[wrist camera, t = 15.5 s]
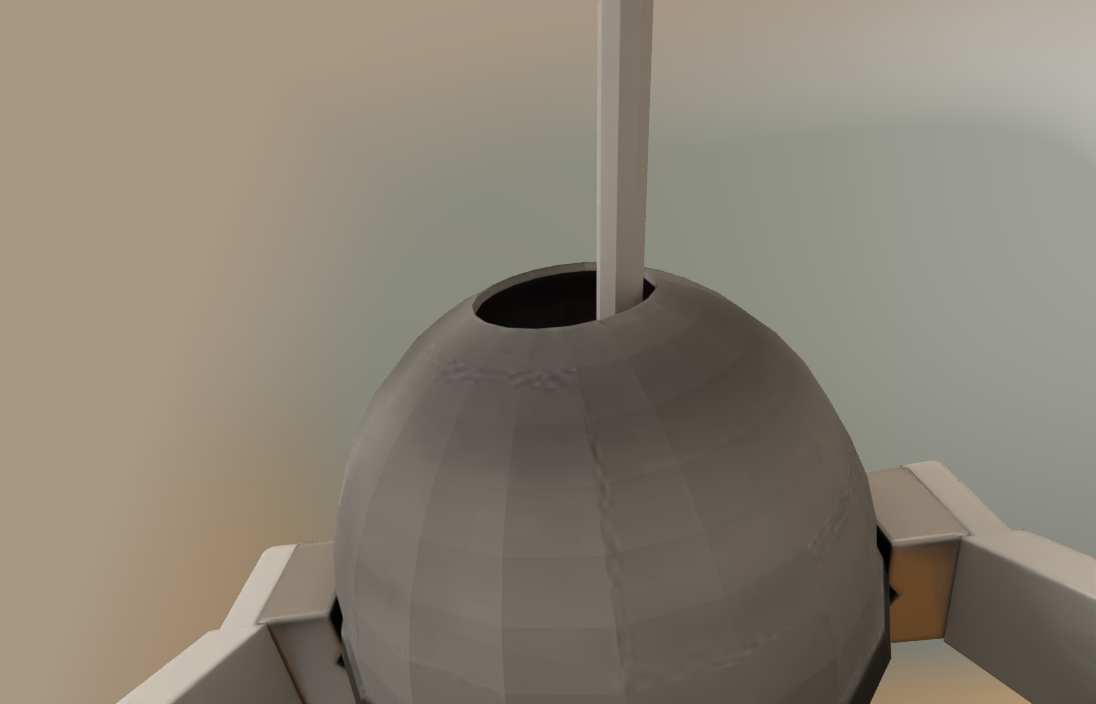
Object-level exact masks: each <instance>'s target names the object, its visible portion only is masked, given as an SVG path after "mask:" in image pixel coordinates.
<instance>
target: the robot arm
mask: <svg viewBox="0 0 1096 704" xmlns="http://www.w3.org/2000/svg"><path fill="white" fill-rule="evenodd" d="M865 473H866V475H867V477H868V482H869V486H870V491H871V496H872V500H873V505H874V509H875V514H876V529H877V547H878V549H879V551H880V553H881V555H882V557H883V560H884V564H885V568H886V572H887V576H888V580H889V601H890V638H891V643H896V642H907V641H919V640H928V639H929V640H930V639H941V638H944V642H945V643H947V644H948V645H950V646H951V647H953V648H954V649H955V650H957V651H958V652H960V653H961V654H963V655H964V656H965V657H967V658H968V659H970V660H971V661H972V662H974V663H975V664H977V665H978V666H980V667H981V668H982V669H984V670H986V671H987V672H988V673H989V674H991V675H992V676H994V677H995V678H997V679H998V680H1000V681H1001V682H1002V683H1004V684H1005V685H1007V686H1008V687H1009V688H1011V689H1012V690H1014V691H1015V692H1016V693H1018V694H1019V695H1021V696H1022V697H1024V698H1025V699H1027V700H1028V701H1029V702H1031V703H1032V704H1096V559H1095V558H1093V557H1090V556H1088V555H1085V554H1083V553H1081V552H1078V551H1076V550H1073V549H1071V548H1068V547H1066V546H1063V545H1061V544H1058V543H1056V542H1053V541H1051V540H1048V539H1046V538H1043V537H1041V536H1039V535H1036V534H1033V533H1031V532H1029V531H1026V530H1016V531H1012V530H1011V529H1010V528H1009V527H1008V526H1007V525H1006V524H1005V523H1004V522H1003V521H1002V520H1001V519H1000V518H999V517H998V516H997V515H996V514H994V513H993V512H992V511H991V510H990V509H989V508H988V507H987V506H986V505H985V504H984V503H983V502H982V501H981V500H980V499H979V498H978V497H977V496H976V495H974V494H973V492H971V491H970V490H969V489H968V488H967V487H966V486H965V485H964V484H963V483H962V482H961V481H960V480H959V479H958V478H957V477H956V476H955V475H954V474H952V473H951V472H950V471H949V470H948V469H947V468H946V467H945V466H944V465H943V464H942V463H939V462H937V461H927V462H921V463H914V464H908V465H901V466H899V467H893V468H886V469H879V470H871V471H865ZM333 548H334V540H325V541H316V542H306V543H302V544H292V545H283V546H275V547H271V548H269V549H268V550H266V551H265V552H264V553H263V555H262V556H261V557H260V559H259V561H258V563H257V565H256V566H255V568H254V570H253V572H252V574H251V575H250V577H249V579H248V580H247V582H246V584H245V586H244V587H243V589H242V591H241V593H240V594H239V596H238V598H237V600H236V601H235V604H234V605H233V607H232V609H231V610H230V612H229V614H228V616H227V617H226V619H225V621H224V623H223V624H222V626H221V628H220V630H214V631H209V632H208V633H206V634H205V635H204V636H203V637H201V638H200V639H199V640H198V641H196V642H195V643H194V644H192V645H191V646H190V647H189V648H187V649H186V650H185V651H183V652H182V653H181V654H180V655H178V656H177V657H176V658H174V659H173V660H172V661H170V662H169V663H168V664H167V665H165V666H164V667H163V668H162V669H160V670H159V671H158V672H156V673H155V674H154V675H152V676H151V677H150V678H149V679H147V680H146V681H145V682H143V683H142V684H141V685H140V686H138V687H137V688H136V689H134V690H133V691H132V692H131V693H129V694H128V695H127V696H126V697H124V698H123V699H122V700H120V701H119V702H118V703H117V704H356V702H355V699H354V695H353V692H352V688H351V685H350V681H349V678H348V674H347V671H346V667H345V664H344V660H343V657H342V642H341V629H342V622H343V615H342V612H341V608H340V604H339V601H338V597H337V594H336V584H335V571H334V558H333Z"/></svg>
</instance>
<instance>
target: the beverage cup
mask: <svg viewBox="0 0 1096 704" xmlns="http://www.w3.org/2000/svg"><path fill="white" fill-rule="evenodd" d="M652 23H653V0H598V116H597V117H598V121H597V122H598V123H597V128H598V129H597V131H598V132H597V262H582V263H572V264H564V265H556V266H551V267H546V268H541V269H536V270H532V271H529V272H525V273H522V274H519V275H516V276H513V277H510V278H508V279H505V280H503V281H501V282H499V283H496V284H494V285H492V286H490V287H488V288H486V289H484V290H482V291H481V292H479V293H477V294H475V295H473V296H471V297H469V298H467V299H466V300H464V301H463V302H461V303H460V304H458V305H457V306H456V307H454V308H453V309H451V310H450V311H448V312H447V313H446V314H444V315H443V316H442V317H441V318H439V319H438V320H437V321H436V322H435V323H434V324H433V325H431V326H430V327H429V328H428V329H427V330H426V331H424V332H423V333H422V334H421V335H420V336H419V337H418V338H417V339H416V340H415V341H414V343H413V344H412V345H411V347H410V348H409V349H408V350H407V352H406V353H405V354H404V356H403V357H402V358H401V360H400V361H399V362H398V363H397V365H396V366H395V368H394V369H393V370H392V371H391V373H390V374H389V375H388V377H387V378H386V379H385V381H384V382H383V383H382V385H381V386H380V387H379V388H378V390H377V391H376V393H375V395H374V397H373V399H372V400H371V402H370V404H369V406H368V408H367V410H366V412H365V414H364V416H363V418H362V420H361V422H360V424H359V426H358V428H357V431H356V434H355V438H354V441H353V444H352V448H351V451H350V455H349V458H348V461H347V465H346V470H345V475H344V480H343V485H342V490H341V495H340V500H339V505H338V512H337V522H336V531H335V539H334V548H333V558H334V571H335V584H336V594H337V597H338V601H339V604H340V608H341V612H342V615H343V622H342V629H341V642H342V657H343V660H344V664H345V667H346V671H347V674H348V678H349V681H350V685H351V688H352V692H353V695H354V699H355V702H356V704H870V702H871V700H872V698H873V696H874V693H875V691H876V689H877V687H878V685H879V683H880V680H881V679H882V676H883V674H884V672H885V670H886V668H887V666H888V664H889V661H890V659H891V638H890V601H889V580H888V576H887V572H886V568H885V564H884V560H883V557H882V555H881V553H880V551H879V549H878V547H877V529H876V514H875V509H874V505H873V500H872V496H871V491H870V486H869V482H868V477H867V475H866V473H865V470H864V468H863V466H862V463H861V461H860V459H859V456H858V454H857V452H856V449H855V447H854V445H853V442H852V440H851V438H850V436H849V434H848V432H847V430H846V429H845V427H844V425H843V423H842V422H841V420H840V418H839V416H838V415H837V413H836V411H835V409H834V408H833V406H832V404H831V402H830V401H829V399H828V397H827V395H826V394H825V392H824V391H823V389H822V388H821V386H820V385H819V383H818V382H817V380H816V379H815V377H814V376H813V374H812V373H811V371H810V370H809V368H808V366H807V365H806V363H805V362H804V361H803V360H802V359H801V358H800V357H799V356H798V355H797V354H796V353H795V352H794V351H793V350H792V349H791V348H790V347H789V346H788V345H787V344H786V343H785V342H784V341H783V340H782V339H781V337H780V336H778V335H777V333H775V332H774V331H773V330H771V329H770V328H768V327H767V326H765V325H764V324H762V323H761V322H760V321H758V320H757V319H755V318H754V317H753V316H751V315H750V314H748V313H747V312H746V311H744V310H743V309H741V308H740V307H738V306H737V305H736V304H734V303H733V302H731V301H730V300H728V299H727V298H725V297H724V296H722V295H721V294H719V293H718V292H716V291H714V290H711V289H709V288H707V287H704V286H702V285H700V284H698V283H695V282H693V281H691V280H688V279H686V278H684V277H680V276H677V275H674V274H670V273H667V272H664V271H660V270H656V269H651V268H645V267H644V245H645V218H646V190H647V162H648V134H649V133H648V132H649V107H650V106H649V105H650V79H651V51H652Z"/></svg>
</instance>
